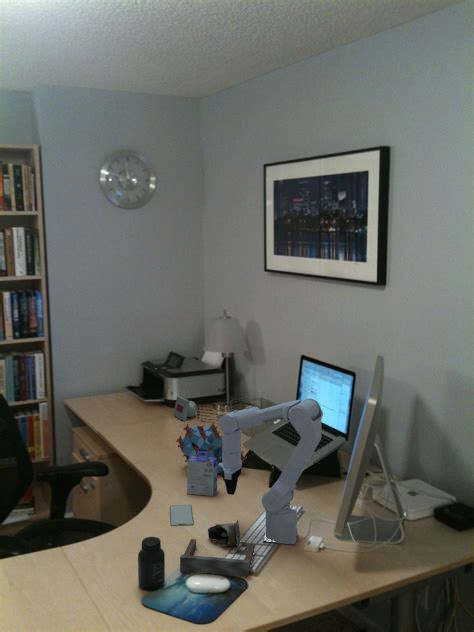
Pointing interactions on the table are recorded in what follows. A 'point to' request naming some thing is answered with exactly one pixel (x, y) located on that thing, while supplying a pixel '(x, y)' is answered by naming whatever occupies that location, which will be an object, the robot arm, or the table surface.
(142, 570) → the supplement bottle
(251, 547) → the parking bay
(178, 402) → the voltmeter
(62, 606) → the table surface
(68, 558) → the table surface
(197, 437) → the molecule model
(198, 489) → the ink cartridge box
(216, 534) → the caster wheel
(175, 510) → the smartphone
